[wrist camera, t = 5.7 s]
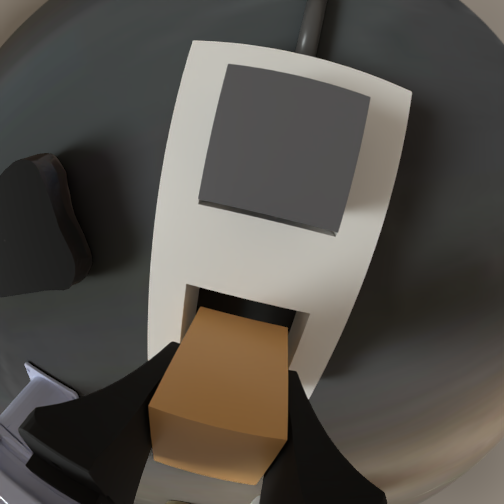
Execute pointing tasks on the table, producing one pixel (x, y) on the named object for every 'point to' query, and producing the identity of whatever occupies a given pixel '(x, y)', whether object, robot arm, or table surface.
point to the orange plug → (223, 399)
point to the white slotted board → (265, 226)
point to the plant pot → (176, 502)
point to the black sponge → (39, 229)
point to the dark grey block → (284, 146)
